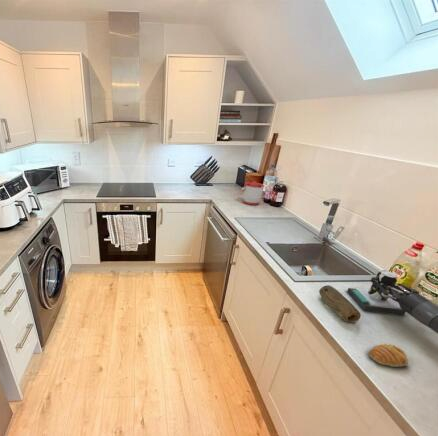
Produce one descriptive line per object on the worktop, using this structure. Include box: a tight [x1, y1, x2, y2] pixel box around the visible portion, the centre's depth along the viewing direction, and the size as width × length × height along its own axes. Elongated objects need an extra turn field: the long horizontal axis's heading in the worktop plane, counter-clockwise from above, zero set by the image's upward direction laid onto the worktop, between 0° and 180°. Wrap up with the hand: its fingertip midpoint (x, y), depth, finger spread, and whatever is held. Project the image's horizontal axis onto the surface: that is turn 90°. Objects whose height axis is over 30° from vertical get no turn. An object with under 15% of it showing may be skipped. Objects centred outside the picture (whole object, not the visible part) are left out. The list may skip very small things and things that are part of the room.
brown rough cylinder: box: [318, 284, 362, 323], centre depth 93 cm, size 15×7×7 cm, turn 5°
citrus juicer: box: [241, 180, 265, 206], centre depth 204 cm, size 16×17×20 cm
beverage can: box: [368, 269, 398, 301], centre depth 93 cm, size 6×6×12 cm
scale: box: [346, 287, 406, 316], centre depth 97 cm, size 14×11×3 cm
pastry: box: [368, 344, 410, 368], centre depth 74 cm, size 9×7×4 cm
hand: (376, 278), depth 96 cm, fingers open, 3 cm apart
